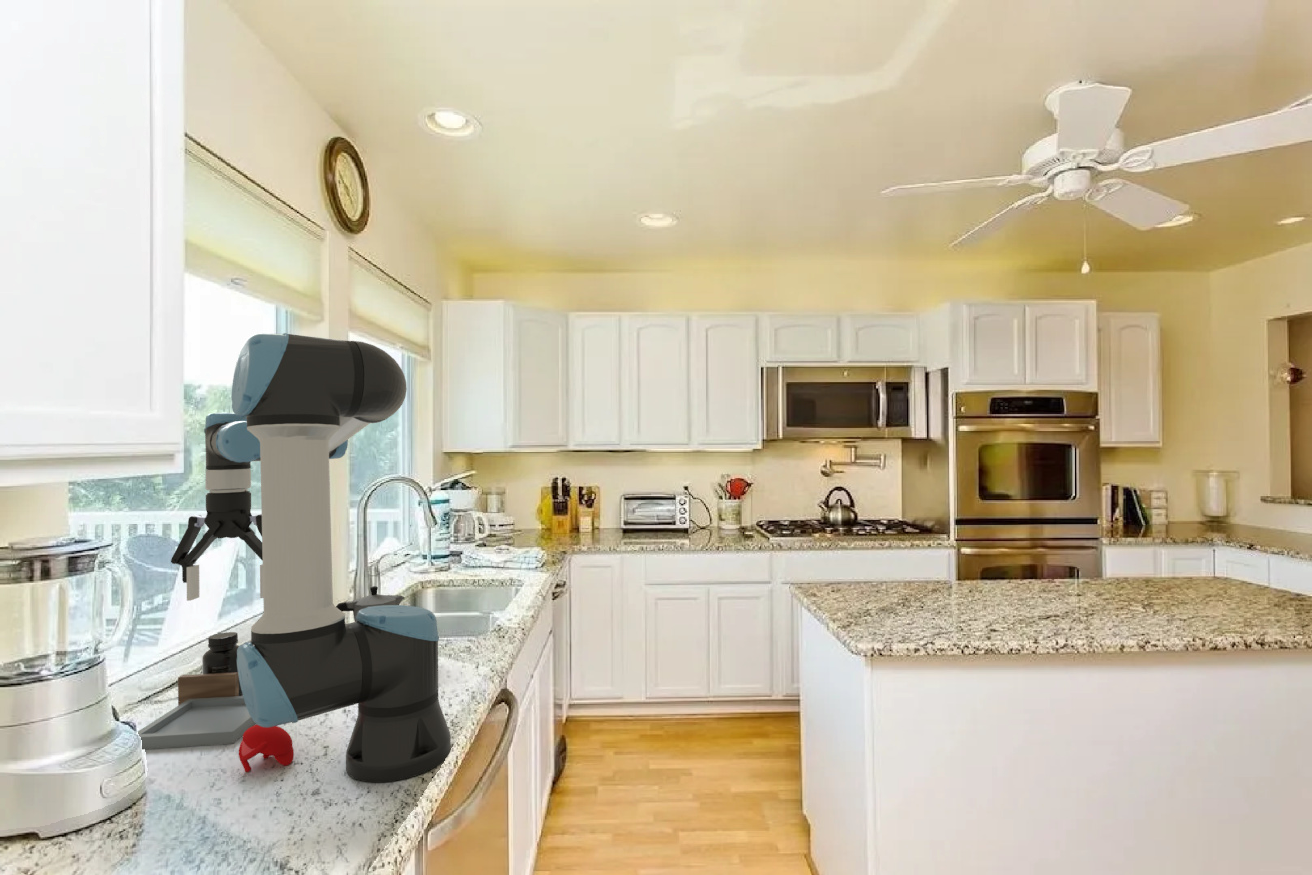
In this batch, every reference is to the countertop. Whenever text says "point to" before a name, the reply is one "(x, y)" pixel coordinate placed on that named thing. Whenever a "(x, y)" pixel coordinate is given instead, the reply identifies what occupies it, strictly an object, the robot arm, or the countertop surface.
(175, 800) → the countertop surface
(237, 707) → the tray
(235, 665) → the supplement bottle
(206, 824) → the countertop surface
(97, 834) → the countertop surface
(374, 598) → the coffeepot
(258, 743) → the cap
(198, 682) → the brown wooden block
